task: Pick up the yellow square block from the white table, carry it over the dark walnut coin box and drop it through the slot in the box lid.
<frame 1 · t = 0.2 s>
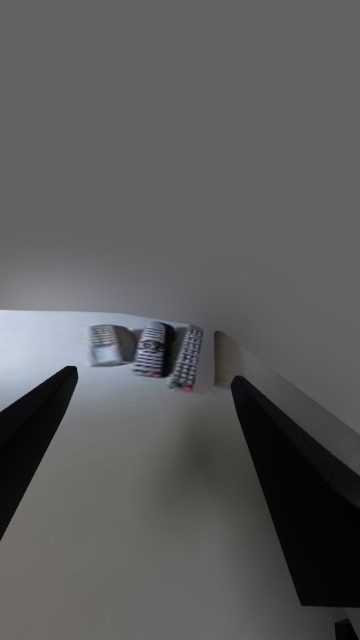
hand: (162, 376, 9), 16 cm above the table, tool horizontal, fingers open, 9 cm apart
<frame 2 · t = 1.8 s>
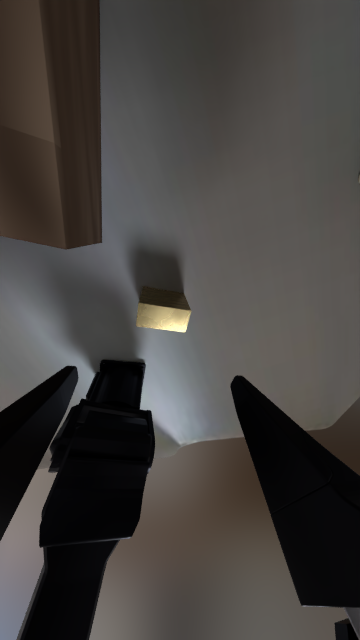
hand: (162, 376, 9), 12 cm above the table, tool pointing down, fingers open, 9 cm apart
yellow square block: (162, 299, 19), on the table
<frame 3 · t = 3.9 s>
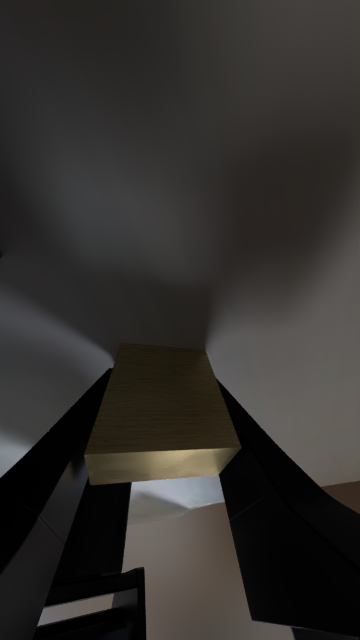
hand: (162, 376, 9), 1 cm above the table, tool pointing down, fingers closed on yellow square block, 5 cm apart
yellow square block: (162, 362, 10), on the table, touching gripper
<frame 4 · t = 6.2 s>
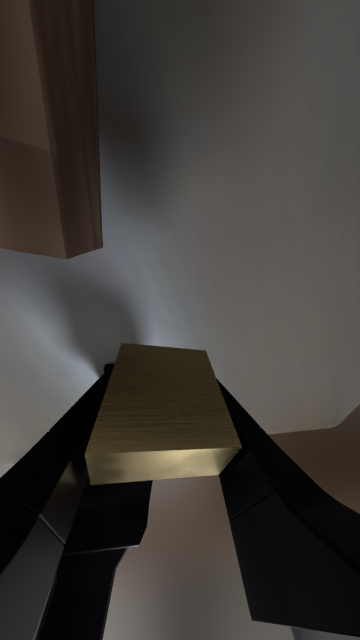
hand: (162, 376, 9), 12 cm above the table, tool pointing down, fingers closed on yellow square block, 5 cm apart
yellow square block: (162, 362, 10), point 10 cm above the table, touching gripper
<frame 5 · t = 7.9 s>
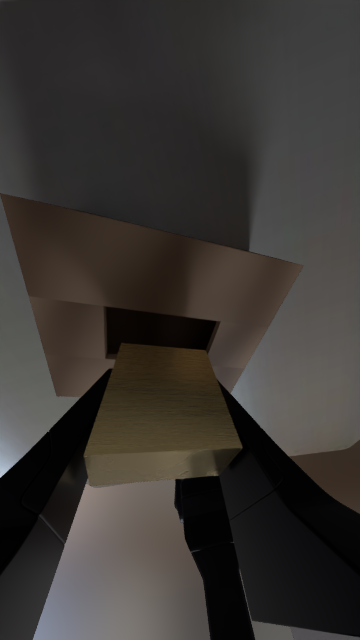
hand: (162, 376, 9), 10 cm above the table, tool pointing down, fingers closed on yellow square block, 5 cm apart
yellow square block: (162, 362, 10), point 9 cm above the table, touching gripper
walnut coin box: (160, 302, 18), on the table
when the fingers open (9 cm above the table, at t = 8.8 s): yellow square block drops 8 cm, resting on walnut coin box.
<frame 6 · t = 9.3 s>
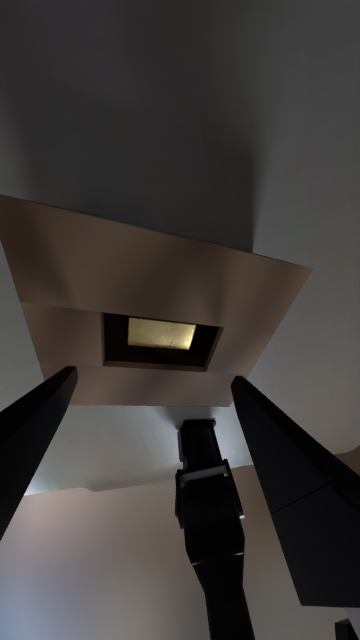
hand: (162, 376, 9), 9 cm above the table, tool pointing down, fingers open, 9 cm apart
yellow square block: (161, 307, 16), point 1 cm above the table, touching walnut coin box
walnut coin box: (161, 305, 17), on the table
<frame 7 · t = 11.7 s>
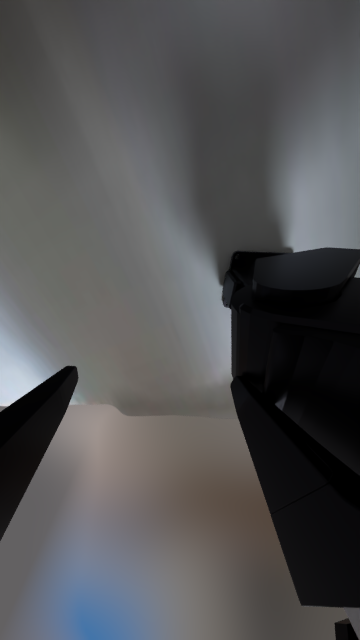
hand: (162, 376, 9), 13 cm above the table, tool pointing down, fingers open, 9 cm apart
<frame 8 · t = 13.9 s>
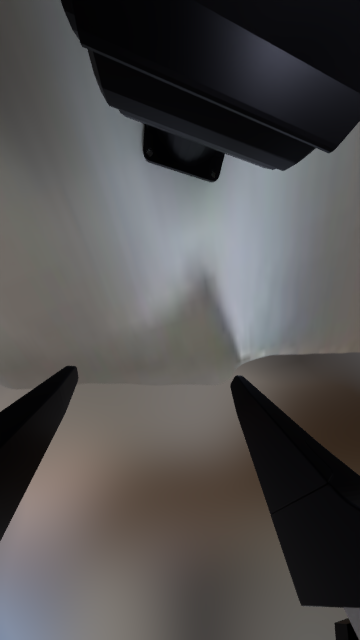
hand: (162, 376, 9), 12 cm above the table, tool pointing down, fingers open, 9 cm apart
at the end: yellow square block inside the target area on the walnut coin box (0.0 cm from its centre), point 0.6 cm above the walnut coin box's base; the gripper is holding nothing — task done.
